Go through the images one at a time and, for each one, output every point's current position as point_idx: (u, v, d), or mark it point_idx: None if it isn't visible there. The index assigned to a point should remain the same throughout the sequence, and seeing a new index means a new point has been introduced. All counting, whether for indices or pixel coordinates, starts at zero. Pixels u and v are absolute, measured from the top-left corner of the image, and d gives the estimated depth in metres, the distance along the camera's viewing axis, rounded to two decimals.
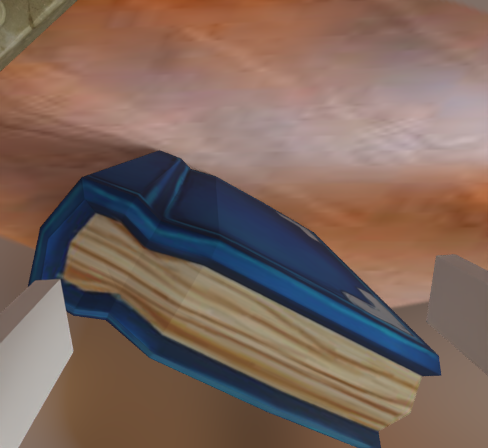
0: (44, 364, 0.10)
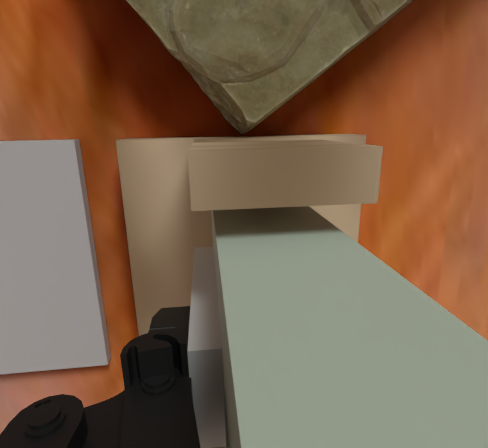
0: None
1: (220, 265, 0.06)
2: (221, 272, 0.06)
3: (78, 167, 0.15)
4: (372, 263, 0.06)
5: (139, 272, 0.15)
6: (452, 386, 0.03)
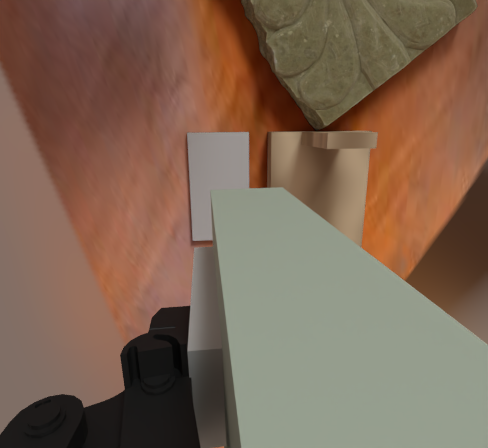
0: None
1: (220, 268, 0.06)
2: (221, 275, 0.06)
3: (248, 143, 0.34)
4: (372, 266, 0.06)
5: None
6: (452, 390, 0.03)
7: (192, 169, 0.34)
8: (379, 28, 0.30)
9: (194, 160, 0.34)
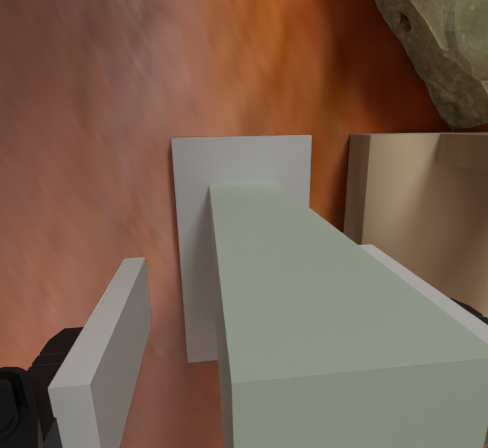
0: (141, 327, 0.11)
1: (217, 248, 0.07)
2: (218, 253, 0.07)
3: (309, 161, 0.15)
4: (348, 246, 0.07)
5: None
6: (395, 330, 0.04)
7: (184, 219, 0.15)
8: None
9: (188, 200, 0.15)
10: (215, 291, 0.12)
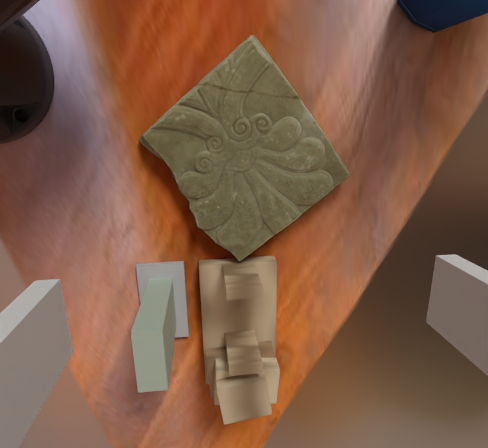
0: (44, 364, 0.10)
1: (138, 311, 0.37)
2: None
3: None
4: (163, 311, 0.37)
5: (203, 304, 0.45)
6: (153, 327, 0.34)
7: (141, 290, 0.45)
8: (274, 195, 0.41)
9: (142, 284, 0.44)
10: None
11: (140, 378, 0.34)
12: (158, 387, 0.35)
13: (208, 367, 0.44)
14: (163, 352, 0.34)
